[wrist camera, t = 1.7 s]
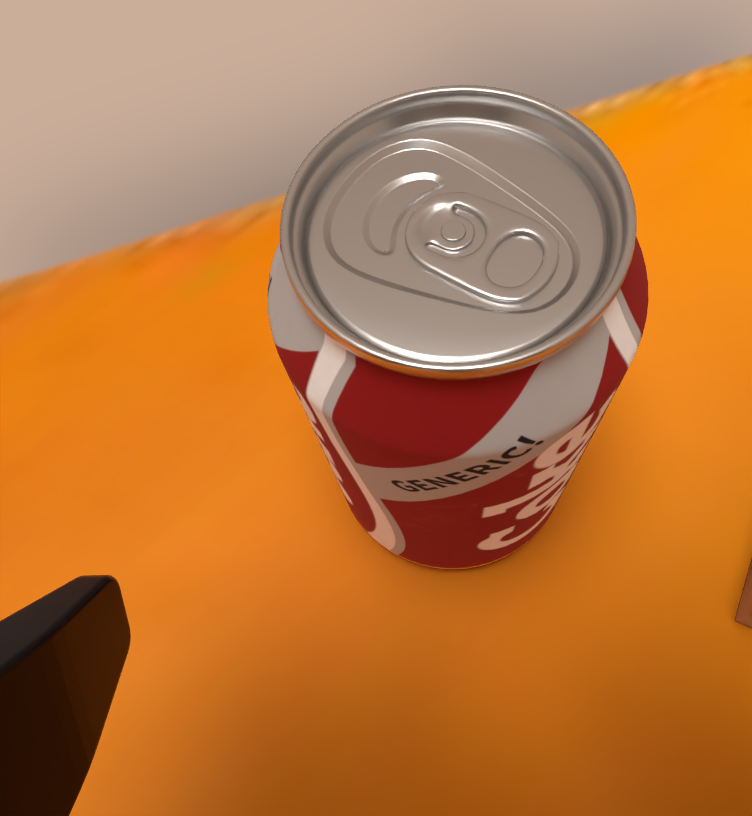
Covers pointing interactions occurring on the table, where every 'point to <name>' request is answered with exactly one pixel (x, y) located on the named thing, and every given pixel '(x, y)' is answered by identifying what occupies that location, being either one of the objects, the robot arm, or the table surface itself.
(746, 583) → the frame
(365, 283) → the soda can
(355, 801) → the table surface
